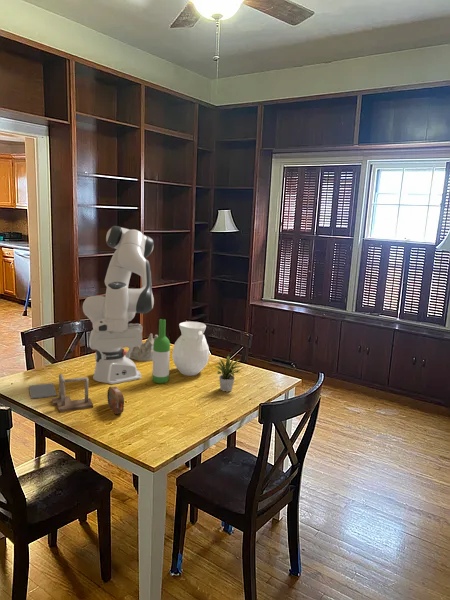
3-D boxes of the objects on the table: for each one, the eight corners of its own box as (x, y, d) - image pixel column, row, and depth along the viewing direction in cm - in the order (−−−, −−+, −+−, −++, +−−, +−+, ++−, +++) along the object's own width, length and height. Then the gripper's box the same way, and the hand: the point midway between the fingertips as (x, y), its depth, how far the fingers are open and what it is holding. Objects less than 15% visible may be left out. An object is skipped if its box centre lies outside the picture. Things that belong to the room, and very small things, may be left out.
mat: (53, 384, 203) (53, 383, 203) (56, 396, 191) (56, 394, 191) (28, 386, 198) (28, 385, 198) (31, 399, 186) (31, 397, 186)
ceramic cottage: (165, 354, 254) (164, 329, 251) (149, 364, 239) (148, 336, 236) (142, 351, 260) (141, 326, 257) (125, 360, 245) (123, 334, 242)
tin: (106, 403, 187) (106, 383, 185) (114, 401, 189) (114, 382, 187) (117, 417, 174) (117, 397, 173) (125, 416, 176) (125, 396, 174)
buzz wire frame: (87, 396, 192) (87, 369, 190) (93, 407, 182) (93, 379, 179) (51, 400, 186) (51, 373, 183) (55, 412, 175) (54, 383, 173)
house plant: (225, 399, 197) (228, 364, 194) (203, 390, 206) (205, 356, 203) (246, 391, 208) (249, 357, 204) (224, 382, 217) (226, 350, 214)
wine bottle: (171, 380, 216) (174, 319, 211) (163, 385, 209) (165, 322, 204) (158, 376, 219) (159, 317, 214) (149, 381, 212) (150, 320, 207)
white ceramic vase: (215, 375, 226) (217, 327, 222) (183, 381, 216) (185, 330, 211) (196, 364, 241) (198, 318, 237) (165, 369, 231) (167, 321, 226)
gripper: (140, 321, 182) (139, 353, 185) (88, 323, 173) (88, 358, 176) (144, 324, 177) (143, 358, 179) (91, 327, 168) (91, 363, 170)
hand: (115, 358), depth 177 cm, fingers open, 8 cm apart
